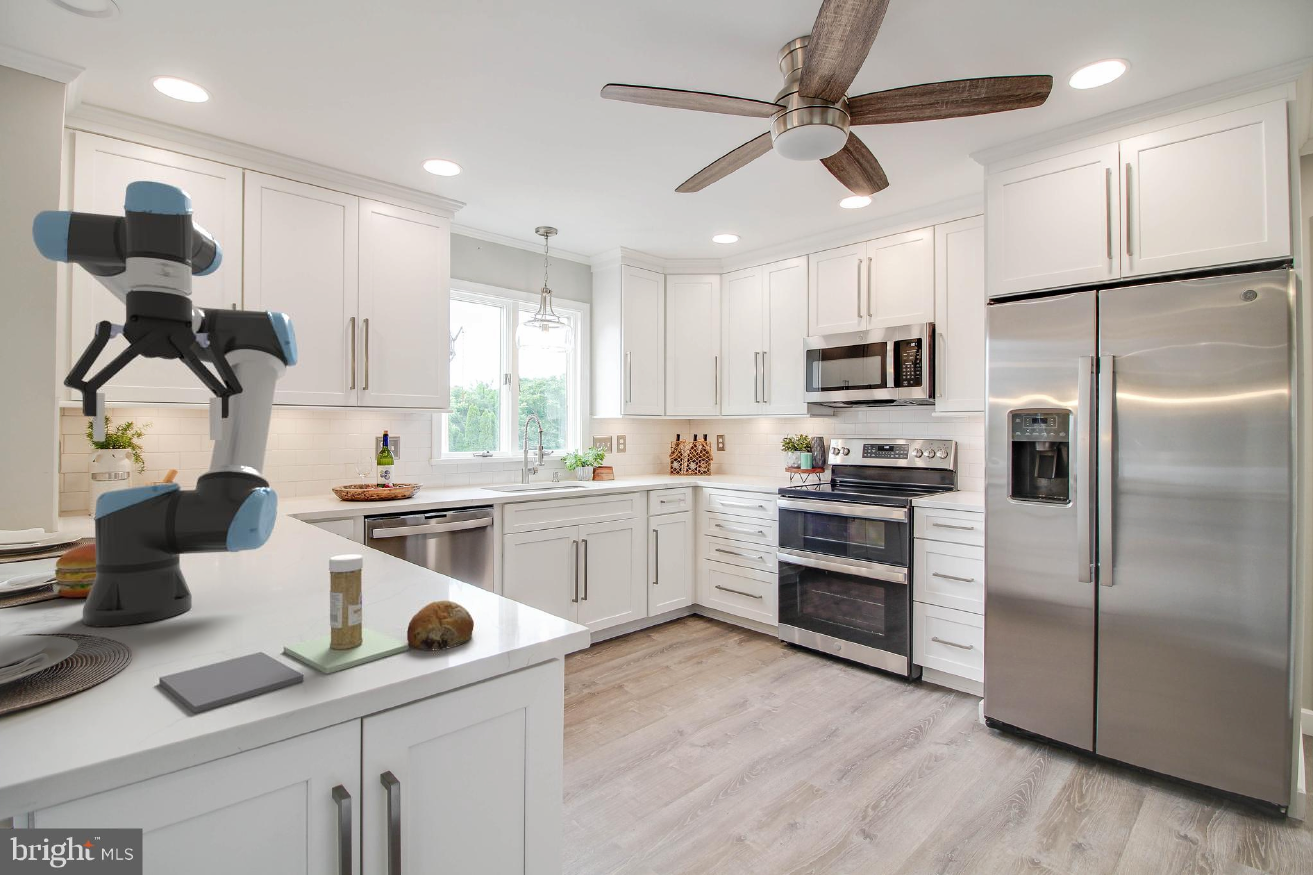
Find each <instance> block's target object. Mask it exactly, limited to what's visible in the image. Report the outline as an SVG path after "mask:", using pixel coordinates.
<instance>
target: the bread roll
mask: <svg viewBox="0 0 1313 875" xmlns="http://www.w3.org/2000/svg"><path fill="white" fill-rule="evenodd" d="M474 626H475V623H474V620H473V618H472V615H471V614H470V612H469V611H468V610H467V609H466V608H465V607H463V606H462V605H460V604H459V603H456V602H454V601H450V600H440V601H433V602H431V603H428V604H426V605H424V606H423V607H422V608H421V609H420V610H419V611H418V612H417V613H416V614H414V615H413V616H412V618H411V620H410V621H409V623H408V627H407V631H406V634H407V635H406V638H407V644H409V646H410V647H411V648H413V649H415V650H422V649H424V651H436V650H435V649H439V650H444V649H443V648H445V649H448V648H447V647H451V648H454V647H456V646H455V645H457V646H459V645H458V644H461V645H463V644H462V643H464V642H465V643H466V642H467V641H469V640H470V639H472V636H473V631H474ZM465 643H464V644H465ZM453 646H454V647H453ZM433 649H434V650H433Z"/></svg>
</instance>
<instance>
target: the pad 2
mask: <svg viewBox="0 0 1313 875" xmlns="http://www.w3.org/2000/svg"><path fill="white" fill-rule="evenodd" d="M362 639H363V642H362V643H361V644H360V645H358V646H356V647H353V648H350V649H340V650H339V649H333V648H331V647H330V642H331V634H327V635H323V636H319V637H315V638H311V639H307V640H304V641H303V640H302V641H299V642H295V643H291V644H286V645H283V653H286V654H287V655H289V656H291V657H294V658H295V659H297V660H299V661H301V662H303V663H305V664H307V665H309V666H310V667H312V668H315V669H316V670H318V671H320V672H322V673H324V674H326V675H329V674H332V673H335V672H338V671H342V670H345V669H348V668H352V667H356V666H358V665H362V664H366V663H369V662H372V661H376V660H378V659H382V658H385V656H386V657H388V656H389V657H390V656H391V655H396V654H399V653H402V652H406V651H409V648H410V647H409V646H410V644H409V643H406V642H403V641H401V640H398V639H396V638H393V637H390V636H388V635H385V634H383V633H380V632H377V631H376V630H373V629H370V628H367V627H364V626H362Z"/></svg>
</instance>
